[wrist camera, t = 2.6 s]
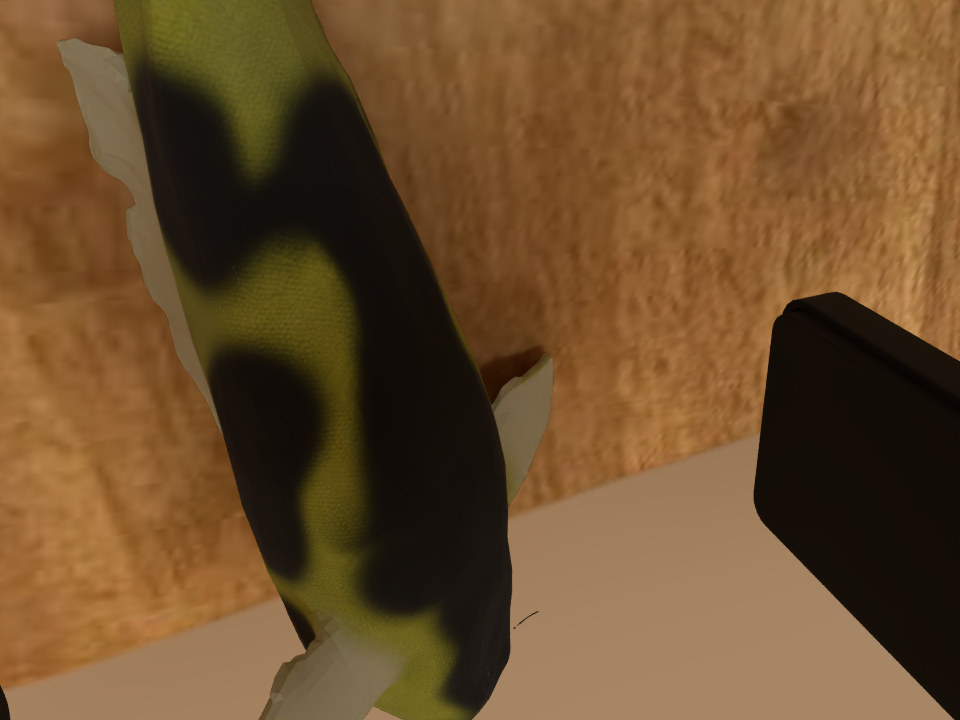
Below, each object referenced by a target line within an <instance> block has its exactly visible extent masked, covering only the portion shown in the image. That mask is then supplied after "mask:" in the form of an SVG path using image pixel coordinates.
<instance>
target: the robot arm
mask: <svg viewBox="0 0 960 720" xmlns="http://www.w3.org/2000/svg"><path fill="white" fill-rule="evenodd" d="M754 504H755V508H756V511H757V513H758V515H759V517H760V519H761V521H762V522H763V523H764V524H765V526H766V527H767V528H768V529H769V530H770V531H771V532H772V533H773V534H774V535H775V536H776V537H777V538H778V539H779V540H780V541H781V542H782V543H783V544H784V545H785V546H786V547H787V548H788V549H789V550H790V551H791V552H792V553H793V554H794V555H795V556H796V558H797V559H798V560H800V562H802V564H803V565H804V566H805V567H806V568H807V569H808V570H809V571H810V572H811V573H812V574H813V575H814V576H815V577H816V578H817V579H818V580H819V581H820V582H821V583H822V584H823V585H824V586H825V587H826V588H827V589H828V590H829V591H830V592H831V594H833V596H834V597H835V598H836V599H837V600H838V601H839V602H840V603H841V604H842V605H843V606H844V607H845V608H846V609H847V610H848V611H849V612H850V613H851V614H852V615H853V616H854V617H855V618H856V619H857V620H858V621H859V622H860V623H861V624H862V625H863V626H864V627H865V628H866V629H867V630H868V632H869V633H870V634H871V635H873V637H874V638H875V639H876V640H877V641H878V642H879V643H880V644H881V645H882V646H883V647H884V648H885V649H886V650H887V651H888V652H889V653H890V654H891V655H892V656H893V657H894V658H895V659H896V660H897V661H898V662H899V663H900V664H901V665H902V667H904V668H905V670H906V671H907V672H908V673H909V674H910V675H911V676H912V677H913V678H914V679H915V680H916V681H917V682H918V683H919V684H920V685H921V686H922V687H923V688H924V689H925V690H926V691H927V692H928V693H929V694H930V695H931V696H932V697H933V698H934V699H935V700H936V701H937V702H938V703H939V704H940V706H942V708H943V709H944V710H945V711H946V712H947V713H948V714H949V715H950V716H951V717H952V718H953V719H954V720H960V361H958V360H956V359H955V358H953V357H951V356H949V355H948V354H946V353H944V352H943V351H941V350H939V349H937V348H936V347H934V346H932V345H931V344H929V343H927V342H925V341H924V340H922V339H920V338H919V337H917V336H915V335H913V334H912V333H910V332H908V331H906V330H905V329H903V328H901V327H900V326H898V325H896V324H894V323H893V322H891V321H889V320H888V319H886V318H884V317H882V316H881V315H879V314H877V313H876V312H874V311H872V310H870V309H869V308H867V307H865V306H864V305H862V304H860V303H858V302H857V301H855V300H853V299H851V298H850V297H848V296H846V295H845V294H842V293H839V292H830V293H825V294H821V295H816V296H811V297H807V298H802V299H797V300H793V301H791V302H790V303H788V304H787V306H786V307H785V309H784V311H783V314H782V315H780V316H779V317H777V318H776V320H775V322H774V325H773V329H772V337H771V345H770V354H769V363H768V372H767V380H766V389H765V398H764V406H763V415H762V424H761V433H760V442H759V450H758V459H757V468H756V476H755V485H754ZM0 720H10V714H9V708H8V703H7V700H6V697H5V694H4V692H3V690H2V688H1V686H0Z"/></svg>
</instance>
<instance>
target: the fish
mask: <svg viewBox="0 0 960 720" xmlns="http://www.w3.org/2000/svg"><path fill="white" fill-rule="evenodd" d="M114 5H115V11H116V17H117V23H118V28H119V33H120V39H121V44H122V49H123V53H121V52H117V51H115V50H112V49H110V48H106V47H101V46H96V45H91V44H87V43H85V42H83V41H81V40H79V39H76V38H73V39H70V40H68V41H67V40H60V41H58V42H56V44H57V46H58V48H59V50H60V53H61V55H62V61H63V66H65V67H66V68H68V70H69V72H70V74H71V76H72V79H73V83H74V87H75V91H76V96H77V99H78V102H79V105H80V109H81V112H82V115H83V118H84V121H85V123H86V126H87V129H88V132H89V148H90V150H91V153H92V156H93V158H94V160H95V161H96V162H97V163H98V164H99V166H100V167H101V168H102V169H103V170H104V171H105V172H106V173H108V174H109V175H111V176H113V177H115V178H117V179H118V180H120V181H122V182H123V184H124V185H125V186H126V187H127V188H128V189H129V190H130V192H131V193H132V195H133V198H134V200H135V204H133V205H132V206H131V207H129V208H128V209H127V210H126V224H127V238H128V239H129V240H130V241H131V244H132V252H133V254H134V255H135V257H136V258H137V260H138V262H139V263H140V265H141V270H142V276H143V281H144V284H145V286H146V288H147V290H148V292H149V294H150V296H151V298H152V299H153V300H154V302H155V303H156V304H157V305H158V306H159V307H160V308H161V309H162V310H163V311H164V312H165V314H166V316H167V318H168V323H169V327H170V332H171V335H172V339H173V342H174V346H175V350H176V353H177V356H178V358H179V360H180V362H181V364H182V366H183V368H184V369H185V370H186V371H187V373H188V374H189V375H190V376H191V378H192V379H193V380H194V382H195V384H196V385H197V387H198V389H199V390H200V392H201V393H202V395H203V397H204V398H205V400H206V402H207V404H208V405H209V407H210V409H211V412H212V414H213V417H214V419H215V422H216V424H217V426H218V428H219V430H220V432H221V433H222V434H223V436H224V440H225V443H226V447H227V451H228V454H229V458H230V462H231V465H232V469H233V473H234V476H235V480H236V484H237V488H238V491H239V495H240V499H241V503H242V506H243V509H244V511H245V514H246V516H247V519H248V521H249V524H250V526H251V529H252V531H253V534H254V536H255V539H256V541H257V544H258V547H259V549H260V552H261V555H262V557H263V560H264V563H265V565H266V568H267V571H268V573H269V575H270V577H271V579H272V581H273V583H274V584H275V586H276V588H277V590H278V593H279V595H280V597H281V599H282V601H283V603H284V605H285V608H286V610H287V613H288V615H289V617H290V619H291V621H292V623H293V626H294V628H295V630H296V632H297V634H298V637H299V638H300V640H301V642H302V644H303V646H304V648H305V649H306V652H305V654H302V655H298V656H296V657H295V658H293V659H292V660H291V661H290V662H286V663H283V664H282V665H281V667H280V669H279V671H278V673H277V674H276V676H275V678H274V682H273V685H272V688H271V692H270V698H269V700H268V702H267V704H266V706H265V708H264V710H263V712H262V715H261V716H260V718H259V720H363V719H364V718H365V717H366V715H367V714H368V713H369V711H370V710H371V709H372V707H373V706H374V707H376V708H378V709H380V710H382V711H385V712H387V713H389V714H391V715H394V716H396V717H398V718H400V719H403V720H472V719H473V718H474V717H475V716H476V715H477V714H478V713H479V712H480V710H481V709H482V708H483V706H484V705H485V704H486V702H487V701H488V700H489V698H490V696H491V694H492V692H493V690H494V688H495V686H496V684H497V681H498V679H499V677H500V675H501V673H502V671H503V669H504V668H505V666H506V664H507V662H508V659H509V655H510V605H511V595H512V565H511V559H510V551H509V545H508V538H507V533H508V532H507V531H508V506H509V505H510V503H511V502H512V500H513V499H514V497H515V495H516V493H517V491H518V489H519V487H520V486H521V484H522V483H523V481H524V480H525V478H526V477H527V472H528V469H529V467H530V464H531V462H532V460H533V457H534V455H535V453H536V450H537V448H538V446H539V443H540V441H541V439H542V437H543V434H544V432H545V430H546V427H547V425H548V421H549V416H550V409H551V400H552V391H553V383H554V375H553V363H552V356H551V355H550V354H546V353H544V354H543V356H542V357H541V358H540V359H539V361H538V362H537V363H536V364H535V365H534V366H533V367H532V368H531V369H529V370H528V371H527V372H526V373H525V374H524V375H522V376H521V377H514V378H513V379H512V380H510V381H509V382H508V383H507V384H505V385H504V386H503V387H502V388H501V390H500V392H499V394H498V396H497V398H496V400H495V401H494V403H493V404H492V405H491V403H490V400H489V397H488V394H487V391H486V388H485V385H484V382H483V379H482V377H481V374H480V371H479V368H478V365H477V363H476V360H475V358H474V356H473V354H472V351H471V349H470V347H469V345H468V343H467V340H466V338H465V336H464V334H463V331H462V329H461V327H460V325H459V322H458V320H457V318H456V316H455V313H454V311H453V309H452V307H451V304H450V302H449V300H448V298H447V296H446V293H445V291H444V289H443V287H442V285H441V283H440V281H439V278H438V276H437V274H436V272H435V270H434V268H433V266H432V264H431V261H430V259H429V257H428V255H427V253H426V251H425V249H424V246H423V244H422V242H421V240H420V238H419V236H418V234H417V232H416V229H415V227H414V225H413V223H412V221H411V219H410V217H409V214H408V212H407V210H406V208H405V206H404V204H403V202H402V200H401V198H400V196H399V194H398V192H397V190H396V188H395V186H394V184H393V183H392V181H391V179H390V177H389V174H388V172H387V169H386V166H385V164H384V161H383V158H382V155H381V152H380V150H379V147H378V144H377V141H376V138H375V136H374V133H373V131H372V128H371V126H370V124H369V121H368V119H367V116H366V114H365V112H364V109H363V107H362V104H361V102H360V99H359V97H358V95H357V93H356V91H355V88H354V86H353V84H352V82H351V79H350V77H349V76H348V74H347V73H346V71H345V70H344V68H343V67H342V65H341V63H340V62H339V60H338V58H337V57H336V55H335V53H334V52H333V50H332V48H331V46H330V45H329V43H328V41H327V38H326V36H325V33H324V31H323V29H322V26H321V24H320V22H319V19H318V17H317V15H316V13H315V10H314V8H313V6H312V3H311V1H310V0H114ZM537 612H538V611H537ZM537 612H535V613H537ZM535 613H533V614H535ZM533 614H531V615H533ZM531 615H530V616H531ZM530 616H528V617H530ZM528 617H527V618H528ZM525 619H526V618H525ZM525 619H524V620H525ZM524 620H523V621H524ZM523 621H521V622H520V623H519V624H521V623H522V622H523ZM514 629H515V627H514Z"/></svg>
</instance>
